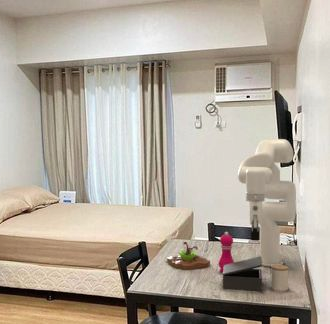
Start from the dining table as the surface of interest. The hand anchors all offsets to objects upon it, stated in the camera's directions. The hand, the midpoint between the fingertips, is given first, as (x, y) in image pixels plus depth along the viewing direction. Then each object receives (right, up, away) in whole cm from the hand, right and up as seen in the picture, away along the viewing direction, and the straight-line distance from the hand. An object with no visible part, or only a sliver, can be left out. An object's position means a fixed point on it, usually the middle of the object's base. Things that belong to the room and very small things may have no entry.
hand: (254, 240), depth 206 cm
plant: (-20, -19, +41) cm, 49 cm away
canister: (+10, -21, -2) cm, 23 cm away
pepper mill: (-5, -20, +23) cm, 31 cm away
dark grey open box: (-4, -21, +3) cm, 21 cm away
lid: (-4, -12, +2) cm, 13 cm away
